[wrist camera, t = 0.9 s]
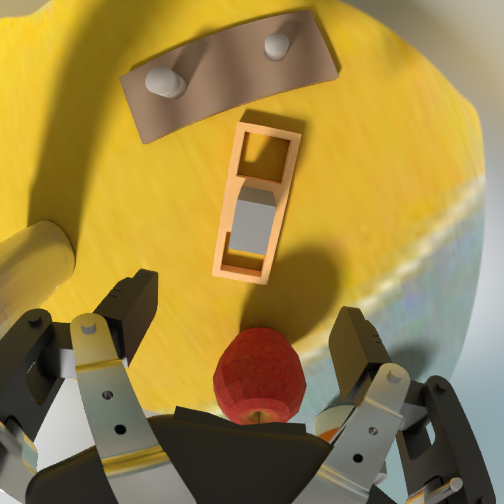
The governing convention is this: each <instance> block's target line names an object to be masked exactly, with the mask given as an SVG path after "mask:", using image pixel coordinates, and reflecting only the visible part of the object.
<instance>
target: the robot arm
mask: <svg viewBox="0 0 504 504" xmlns="http://www.w3.org/2000/svg"><path fill="white" fill-rule="evenodd" d="M74 266H75V259H74V253H73V248H72V246H71V243H70V241H69V239H68V238H67V236H66V234H65V233H64V232H63V230H62V229H61V228H60V227H58V226H57V225H56V224H54V223H53V222H50V221H47V220H42V221H39V222H37V223H35V224H33V225H31V226H29V227H27V228H26V229H24V230H22V231H20V232H18V233H17V234H15V235H13V236H12V237H10V238H8V239H7V240H5V241H3V242H2V243H0V491H2V492H6V493H7V494H9V495H10V496H12V497H13V498H15V499H16V500H18V501H19V502H21V503H23V504H397V503H395V502H394V501H393V500H392V499H391V498H390V497H388V496H387V495H386V494H385V493H384V492H383V491H381V490H380V489H379V488H378V487H377V486H376V485H375V484H373V483H374V481H375V479H376V477H377V475H378V473H379V471H380V469H381V467H382V465H383V463H384V461H385V459H386V457H387V454H388V452H389V450H390V448H391V445H392V443H393V441H394V439H395V437H396V441H397V445H398V449H399V454H400V458H401V462H402V467H403V471H404V476H405V481H406V486H407V492H408V499H407V500H406V503H405V504H496V498H495V494H494V490H493V487H492V484H491V481H490V477H489V474H488V471H487V468H486V465H485V462H484V460H483V457H482V454H481V451H480V449H479V446H478V444H477V441H476V439H475V436H474V434H473V431H472V429H471V426H470V424H469V422H468V419H467V417H466V415H465V413H464V411H463V408H462V406H461V404H460V402H459V400H458V398H457V396H456V393H455V392H454V390H453V387H452V386H451V384H450V383H449V382H448V381H447V380H446V379H445V378H443V377H441V376H436V375H434V376H431V377H429V378H428V380H427V381H426V382H425V384H423V383H419V382H416V381H412V380H410V376H409V374H408V373H407V371H406V370H405V369H404V368H402V367H401V366H399V365H397V364H393V363H392V362H391V360H390V358H389V355H388V353H387V351H386V349H385V347H384V345H383V344H382V341H381V339H380V337H379V334H378V332H377V330H376V328H375V327H374V326H373V325H372V324H371V323H370V322H369V321H368V320H365V318H364V316H363V314H362V312H361V310H360V309H359V308H353V307H346V306H343V307H342V308H341V310H340V312H339V314H338V317H337V319H336V321H335V324H334V326H333V328H332V331H331V333H330V336H329V349H330V353H331V357H332V361H333V365H334V369H335V373H336V377H337V381H338V385H339V389H340V393H341V397H342V401H343V403H353V404H354V407H353V408H352V410H351V411H350V412H349V414H348V416H347V417H346V419H345V420H344V422H343V423H342V425H341V426H340V428H339V429H338V431H337V432H336V434H335V435H334V436H333V438H332V439H331V441H330V442H329V443H328V442H327V441H325V440H323V439H322V438H320V437H317V436H315V435H312V434H310V433H306V425H305V424H301V423H284V422H269V423H260V424H249V425H240V424H237V423H234V422H231V421H228V420H226V419H223V418H221V417H218V416H215V415H213V414H210V413H208V412H202V411H197V410H192V409H188V408H183V407H179V406H176V409H175V412H174V414H166V415H157V416H152V417H149V418H146V417H145V415H144V413H143V410H142V408H141V406H140V404H139V402H138V399H137V397H136V395H135V392H134V390H133V388H132V385H131V383H130V380H129V378H128V375H127V373H126V370H125V368H124V367H127V368H128V367H129V365H130V363H131V361H132V359H133V357H134V355H135V353H136V351H137V349H138V347H139V345H140V343H141V341H142V339H143V337H144V335H145V334H146V332H147V330H148V328H149V326H150V324H151V322H152V320H153V318H154V316H155V314H156V311H157V305H158V273H157V272H155V271H150V270H145V269H140V270H139V271H138V272H137V273H136V274H135V276H134V277H133V278H129V277H127V278H125V279H123V280H121V281H119V282H118V283H117V284H116V285H115V286H114V287H113V289H112V290H111V291H110V292H109V293H108V295H107V296H106V297H105V298H104V299H103V300H102V302H101V303H100V304H99V305H98V307H97V308H96V309H95V310H94V311H93V313H85V314H81V315H79V316H77V317H75V318H74V319H73V320H72V322H71V323H60V322H53V321H52V318H51V315H50V313H49V312H48V311H46V310H44V309H40V308H39V307H40V306H41V305H42V304H43V303H44V302H45V301H46V300H47V299H48V298H49V297H50V296H51V295H52V294H53V293H54V292H55V291H56V290H57V289H58V288H59V287H60V286H61V285H62V284H64V283H65V282H66V281H67V280H68V279H69V278H70V277H71V275H72V274H73V271H74ZM33 363H34V364H33ZM32 364H33V365H32ZM31 366H32V367H31ZM30 367H31V368H30ZM29 369H30V370H29ZM28 370H29V371H28ZM27 372H28V373H27ZM65 378H71V379H77V381H78V385H79V389H80V393H81V398H82V401H83V405H84V409H85V413H86V416H87V420H88V423H89V426H90V429H91V432H92V436H93V439H94V441H95V445H94V446H92V447H90V448H88V449H86V450H84V451H82V452H80V453H78V454H76V455H74V456H71V457H69V458H67V459H65V460H63V461H60V462H58V463H56V464H54V465H52V466H49V467H47V468H44V469H42V470H41V471H39V472H38V473H37V470H36V467H37V460H38V453H37V449H36V447H35V445H34V444H33V442H34V440H35V438H36V436H37V433H38V431H39V429H40V427H41V425H42V423H43V421H44V418H45V416H46V414H47V412H48V410H49V408H50V406H51V404H52V403H53V401H54V399H55V397H56V395H57V393H58V391H59V389H60V387H61V385H62V384H63V382H64V380H65ZM430 422H431V423H432V426H433V429H434V432H435V441H434V443H433V445H431V442H430V439H429V436H428V433H427V430H426V426H427V424H428V423H430Z"/></svg>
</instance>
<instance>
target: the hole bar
mask: <svg viewBox="0 0 504 504" xmlns="http://www.w3.org/2000/svg"><path fill="white" fill-rule="evenodd" d="M245 132H251V133H256V134H262V135H267V136H272V137H277V138H281V139H286V140H290V142H289V147H288V152H287V156H286V161H285V166H284V170H283V175H282V179H281V183H279V182H275V181H270V180H265V179H260V178H254V177H249V176H244V175H238V174H237V173H238V168H239V162H240V157H241V152H242V147H243V141H244V136H245ZM301 135H302V134H298V133H294V132H289V131H285V130H280V129H275V128H270V127H265V126H260V125H255V124H249V123H244V122H237V128H236V133H235V138H234V143H233V149H232V154H231V159H230V165H229V170H228V176H227V182H226V188H225V193H224V199H223V205H222V211H221V217H220V224H219V230H218V236H217V243H216V250H215V256H214V263H213V270H212V275H213V276H218V277H223V278H229V279H234V280H240V281H245V282H251V283H256V284H262V285H267V282H268V278H269V274H270V270H271V266H272V262H273V258H274V254H275V249H276V245H277V241H278V237H279V233H280V229H281V224H282V220H283V216H284V211H285V207H286V203H287V198H288V194H289V190H290V185H291V181H292V176H293V172H294V167H295V163H296V158H297V154H298V149H299V145H300V140H301ZM227 232H231V236H230V242H229V247H228V248H229V249H235V250H240V251H246V252H251V253H256V254H262V255H265V256H264V260H263V264H262V269H261V271H257V270H251V269H246V268H240V267H235V266H230V265H224V264H222V260H223V253H224V247H225V241H226V235H227Z"/></svg>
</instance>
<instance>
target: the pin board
mask: <svg viewBox="0 0 504 504" xmlns="http://www.w3.org/2000/svg"><path fill="white" fill-rule="evenodd" d="M337 78H339V75H338V73H337V70H336V68H335V65H334V63H333V60H332V58H331V55H330V53H329V50H328V48H327V46H326V43H325V41H324V39H323V37H322V34H321V32H320V30H319V28H318V26H317V24H316V22H315V20H314V18H313V15H312V13H311V11H310V10H304V11H298V12H293V13H287V14H283V15H278V16H273V17H269V18H265V19H261V20H257V21H253V22H250V23H246V24H243V25H239V26H236V27H233V28H230V29H227V30H224V31H221V32H218V33H215V34H212V35H209V36H207V37H204V38H201V39H199V40H196V41H194V42H191V43H189V44H186V45H184V46H182V47H179V48H177V49H175V50H172V51H170V52H168V53H166V54H164V55H162V56H160V57H158V58H155V59H153V60H151V61H149V62H147V63H146V64H144V65H142V66H140V67H138V68H136V69H134V70H132V71H131V72H129V73H127V74H125V75H124V76H122V77H120V81H121V84H122V87H123V90H124V93H125V96H126V99H127V102H128V105H129V108H130V111H131V113H132V116H133V119H134V122H135V125H136V127H137V130H138V133H139V136H140V138H141V141H142V144H149V143H151V142H153V141H155V140H157V139H159V138H161V137H163V136H166V135H168V134H170V133H172V132H175V131H177V130H179V129H181V128H184V127H186V126H188V125H191V124H193V123H196V122H198V121H201V120H203V119H206V118H208V117H211V116H213V115H216V114H219V113H221V112H224V111H227V110H229V109H232V108H235V107H238V106H241V105H244V104H247V103H250V102H253V101H256V100H259V99H262V98H266V97H269V96H272V95H276V94H279V93H283V92H286V91H290V90H294V89H298V88H302V87H306V86H310V85H314V84H318V83H323V82H328V81H332V80H336V79H337Z"/></svg>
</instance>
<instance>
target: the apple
mask: <svg viewBox="0 0 504 504" xmlns="http://www.w3.org/2000/svg"><path fill="white" fill-rule="evenodd" d="M213 386H214V392H215V396H216V399H217V403H218V405H219V407H220V409H221V410H222V412H223V413H224V414H225V415H226V416H227V417H228V418H229V419H230V420H231V422H234V423H237V424H240V425H249V424H260V423H269V422H284V423H286V422H287V421H288V420H290V419H291V418H292V417H293V416H294V415H295V414H297V413H298V412H299V409H300V406H301V403H302V400H303V397H304V393H305V390H306V386H307V385H306V381H305V377H304V373H303V370H302V366H301V363H300V360H299V356H298V354H297V353H296V352H295V350H294V349H293V348H292V346H291V345H290V344H289V342H288V341H287V340H286V339H285V338H284V336H283V335H282V334H281V333H279V332H277V331H275V330H273V329H270V328H262V327H257V328H251V329H246V330H245V331H243V332H242V333H240V334H238V335H237V336H236V338H235V339H234V340H233V341H232V343H231V344H230V345H229V346H228V347H227V349H226V350H225V352H224V353H223V355H222V356H221V358H220V359H219V362H218V365H217V368H216V371H215V373H214V376H213Z"/></svg>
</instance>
